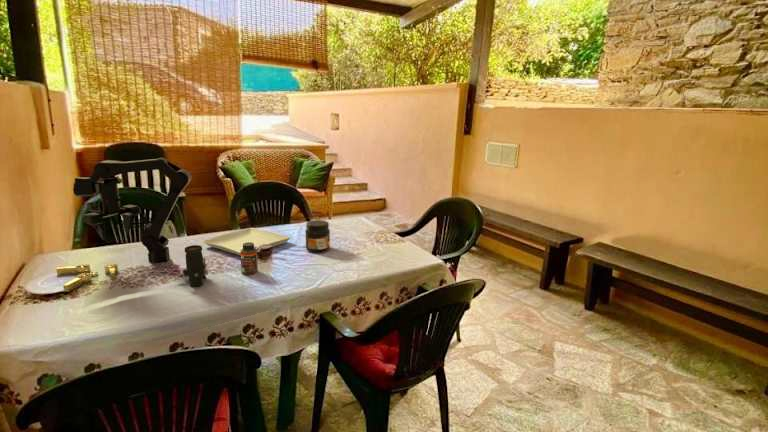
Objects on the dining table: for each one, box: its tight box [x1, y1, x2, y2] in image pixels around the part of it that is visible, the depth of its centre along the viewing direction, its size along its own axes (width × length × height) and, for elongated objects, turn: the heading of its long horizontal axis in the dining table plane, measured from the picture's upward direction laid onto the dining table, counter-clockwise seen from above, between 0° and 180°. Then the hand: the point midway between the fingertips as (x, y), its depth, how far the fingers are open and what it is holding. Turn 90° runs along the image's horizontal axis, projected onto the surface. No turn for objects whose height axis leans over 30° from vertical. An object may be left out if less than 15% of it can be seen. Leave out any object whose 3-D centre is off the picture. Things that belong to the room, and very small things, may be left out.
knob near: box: [104, 263, 119, 281], centre depth 152 cm, size 10×4×3 cm, turn 35°
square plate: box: [202, 227, 292, 256], centre depth 189 cm, size 27×27×4 cm
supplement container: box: [304, 219, 331, 254], centre depth 185 cm, size 10×10×12 cm
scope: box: [182, 244, 209, 289], centre depth 148 cm, size 8×14×10 cm
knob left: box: [62, 273, 93, 293], centre depth 143 cm, size 10×4×3 cm, turn 176°
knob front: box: [55, 263, 92, 275], centre depth 153 cm, size 10×4×3 cm, turn 103°
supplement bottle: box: [240, 242, 259, 276], centre depth 159 cm, size 6×6×11 cm
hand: (115, 236), depth 160 cm, fingers open, 9 cm apart
